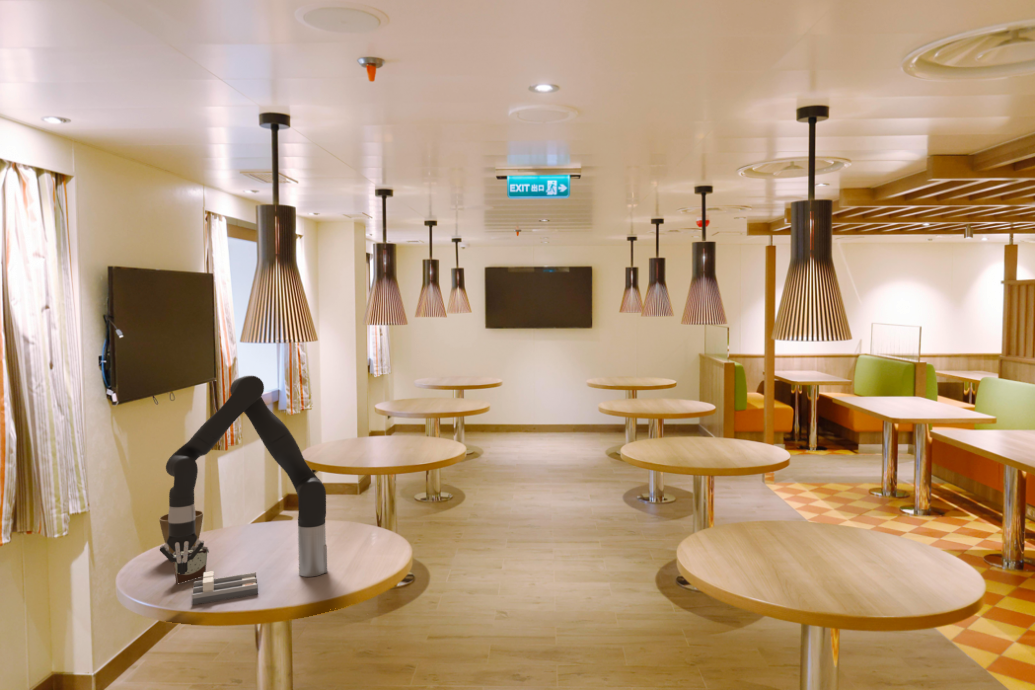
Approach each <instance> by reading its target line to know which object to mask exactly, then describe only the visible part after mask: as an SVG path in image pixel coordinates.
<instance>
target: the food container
mask: <svg viewBox="0 0 1035 690" xmlns="http://www.w3.org/2000/svg"><path fill="white" fill-rule="evenodd" d="M195 548H196V546H194V547H192V548H191V549H190V550H188V555H190V554H191V553H192V552H193V550H194V549H195ZM183 553H184V551H181V556H182V561H183ZM208 553H210V550H209V547H208V546H205V545H204V546H203V547H202V548H201V549H200V551H199V552H198V553H197V555H196V556H195V557H194V558H193V559H192V560H189V561H188V570H187V572H185V574H182V575H180V573H178V572H177V563H176V562H171V563H173V570H174V577H175V584H176V583H177V584H178V583H181V584H183V583H182V582H185V581H188V580H191V581H193V580H192V579H195V578H198V577H202V578H203V575H204V572H207V561H208ZM173 555H174V556H175V557H176V552H174V553H173ZM198 579H199V578H198ZM195 580H196V579H195ZM188 582H189V581H188ZM185 583H186V582H185ZM177 584H176V585H177ZM178 585H179V584H178Z"/></svg>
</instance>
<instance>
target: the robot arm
mask: <svg viewBox="0 0 1035 690" xmlns="http://www.w3.org/2000/svg"><path fill="white" fill-rule="evenodd" d="M229 390H230V391H229V392H230V396H229V398H228V399H227V400H226V402H225V403H224V404H223V405H222V406H220V408H219V409H218V410H217V411H216V412H215V413H214V414H213V415H211V416H210V418H207V420H206V421H205V422H203V424H202V425H201V426H200V428H199V429H198V430H197V431H196V432H195V433H194V434H193V436H192V437H190V439H188V441H187V442H185V444H183V445H182V446H180V447H179V448H178V449H177V450H176V451H174V452H173V454H172V455H170V457H169V459H168V460H167V462H166V464H165V470H166V472H167V474H168V475H170V476H171V477H173V486H172V487H170V489H169V492H168V493H169V494H168V499H169V500H168V501H169V503H168V504H169V505H168V512H167V514H168V525H169V537H168V539H167V543H166V544H165V543H164V544H162V545H160V547H159V552H160V553H162V555H163V556H165V557H166V559H168V560H169V561H170V563H172V562H176V563H177V572H178V573H180V575H182V574H185V572H187V570H188V561H189V560H192V559H193V558H194V557H195V556H196V555H197V553H198V552H199V551H200V549H201V548H202V547H203V546H205V541H204V540H200V539H197V536H196V533H195V510H196V505H195V487H196V483H197V478H198V473H199V472H198V471H199V469H198V464H197V463H198V462H197V460H198V459H199V458H200V457H203V456H206V455H207V454H209V452H210V451H211V450H212V449H213V448H214V447H215V445H216V444H217V443H218V442H219V441H220V439H221V438H222V437H223V436H224V434H226V432H227V431H228V429H230V427H231V426H232V425H233V423H235V421H237V420H238V418H239V417H240V416H241V415H242V414H243V413H244V414H245V415H246V417H247V418H248V419H249V421H250V423H251V424H252V426H253V429H254V430H255V431H256V434H257V435H258V437H259V439H260V440H261V441H262V443H263V445H264V446H265V448H266V450H267V451H268V453H269V455H270V456H271V457H272V459H274V461H275V462H276V463H277V465H278V466H279V467H281V469H282V470H283V471H284V472H285V473H286V475H287V476H288V478H289V480H290V481H291V484H292V485H293V488H294V489H295V492H296V494H297V497H298V498H297V499H298V500H297V503H298V505H297V506H298V513H297V514H298V517H297V536H298V538H297V542H298V543H297V544H298V575H299V576H301V577H305V578H306V577H309V578H310V577H318V576H321V575H323V574H327V573H328V546H327V543H326V542H327V540H326V539H327V538H326V537H327V536H326V535H327V533H326V531H327V530H326V516H327V492H326V486H325V485H324V483H323V482H322V481H321V480H320V479H319V477H318V476H317V475H316V474H315V473H314V472H313V471H312V468H311V467H310V466H309V465H308V463H307V462H306V460H305V458H304V456H303V453H302V450H301V449H300V447H299V445H298V443H297V441H296V439H295V438H294V436H293V435H292V433H291V431H290V430H289V428H288V427H287V425H285V424H284V422H283V421H282V420H281V419H280V418H279V417H278V416H277V415H276V414H274V412H272V411H271V409H270V408H268V406H267V404H266V403H265V401H264V399H263V398H262V396H263V394H264V392H265V391H264V390H265V385H264V382H263V381H262V379H261V378H260V377H258V376H256V375H244V376H241V377H239V378H237V379H234V381H233V382H232V383H231V385H230V389H229ZM195 542H196V545H195V546H196V548H195V549H194V550H193V552H192V553H191V554H190V555H188V550H190V549H191V548H192V546H193V545H194V543H195ZM168 545H169V546H170V547H171V549H172V550H173V551H175V552H176V557H175V556H174V555H173V554H172V553H171V552H170V551H169V547H168ZM181 551H184V553H183V561H182V556H181Z"/></svg>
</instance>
